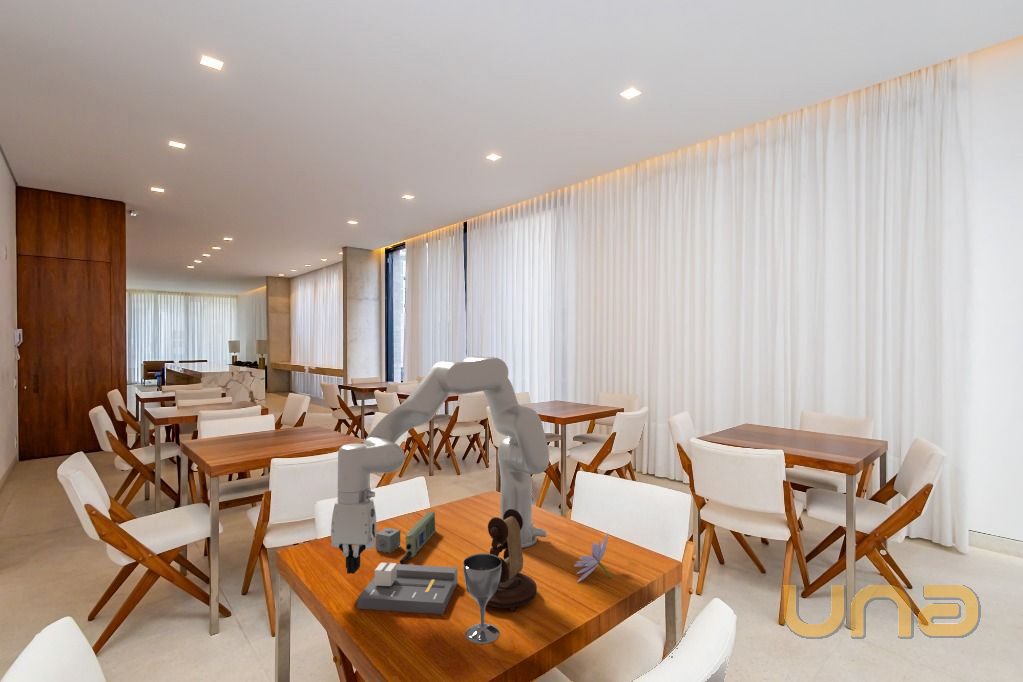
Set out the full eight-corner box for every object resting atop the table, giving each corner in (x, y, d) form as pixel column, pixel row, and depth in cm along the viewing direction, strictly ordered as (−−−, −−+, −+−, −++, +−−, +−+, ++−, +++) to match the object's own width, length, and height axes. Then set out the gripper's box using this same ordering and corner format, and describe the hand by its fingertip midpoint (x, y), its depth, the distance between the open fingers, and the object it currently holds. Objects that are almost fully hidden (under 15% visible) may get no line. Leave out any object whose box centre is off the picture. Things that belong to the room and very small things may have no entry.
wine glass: (463, 623, 105) (463, 554, 105) (500, 621, 106) (500, 552, 106) (463, 646, 97) (463, 571, 97) (502, 644, 98) (502, 569, 98)
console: (457, 583, 123) (457, 567, 123) (443, 614, 109) (443, 596, 109) (380, 578, 125) (380, 563, 125) (357, 608, 111) (357, 591, 111)
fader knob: (396, 577, 119) (396, 562, 119) (390, 586, 115) (390, 570, 115) (381, 577, 120) (381, 561, 120) (374, 585, 116) (374, 569, 116)
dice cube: (390, 553, 140) (390, 536, 140) (375, 550, 142) (375, 533, 142) (400, 546, 145) (400, 530, 145) (386, 544, 147) (386, 527, 147)
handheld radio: (437, 531, 157) (407, 567, 132) (427, 531, 157) (396, 567, 132) (436, 511, 157) (407, 542, 132) (426, 510, 157) (395, 542, 132)
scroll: (516, 621, 106) (515, 529, 106) (462, 602, 114) (462, 516, 114) (547, 591, 119) (547, 509, 119) (497, 576, 126) (497, 499, 126)
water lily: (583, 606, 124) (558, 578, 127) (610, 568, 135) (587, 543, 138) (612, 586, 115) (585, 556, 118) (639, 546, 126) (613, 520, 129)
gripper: (389, 492, 121) (388, 566, 121) (332, 489, 123) (331, 562, 123) (377, 502, 114) (376, 580, 114) (316, 499, 116) (315, 576, 116)
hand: (353, 571), depth 118 cm, fingers closed
